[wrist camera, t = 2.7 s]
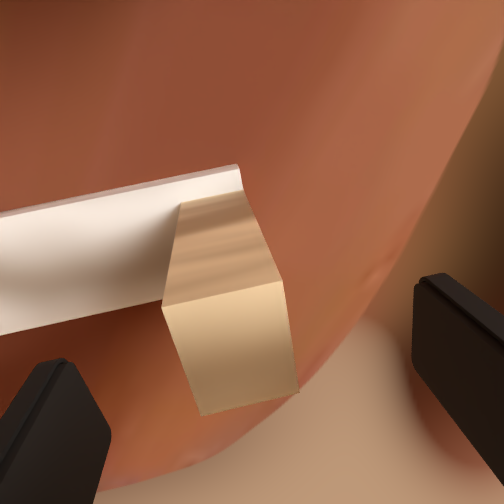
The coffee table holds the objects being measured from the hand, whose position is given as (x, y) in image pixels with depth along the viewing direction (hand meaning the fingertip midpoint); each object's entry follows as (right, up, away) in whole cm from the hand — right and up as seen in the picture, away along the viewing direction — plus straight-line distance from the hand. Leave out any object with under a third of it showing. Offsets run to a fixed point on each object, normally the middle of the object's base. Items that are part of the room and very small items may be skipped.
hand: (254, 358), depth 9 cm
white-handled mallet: (-9, +3, +8) cm, 13 cm away
